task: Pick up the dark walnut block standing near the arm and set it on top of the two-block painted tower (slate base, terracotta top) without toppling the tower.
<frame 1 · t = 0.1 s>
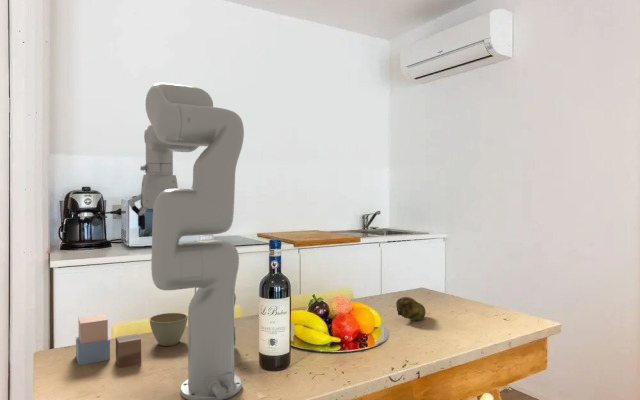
hand: (159, 228, 132), 31 cm above the table, fingers open, 9 cm apart
tower top: (93, 338, 113), point 5 cm above the table, touching tower base
tower base: (92, 358, 113), on the table, touching tower top
vegetable: (227, 349, 120), on the table
olive grey bowl: (168, 343, 124), on the table
walnut block: (128, 362, 110), on the table
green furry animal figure: (412, 320, 147), on the table
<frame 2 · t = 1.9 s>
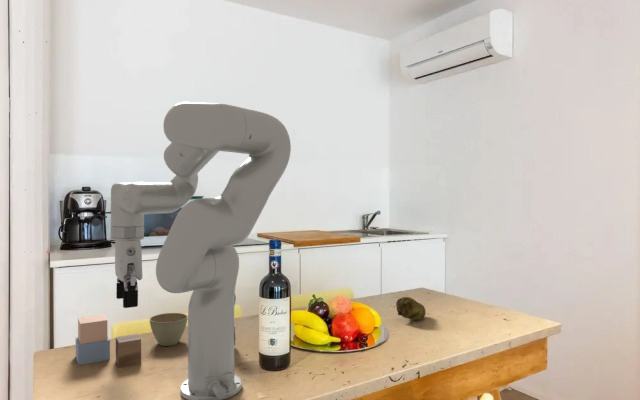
hand: (126, 302, 110), 15 cm above the table, fingers open, 9 cm apart
nothing on the table moved.
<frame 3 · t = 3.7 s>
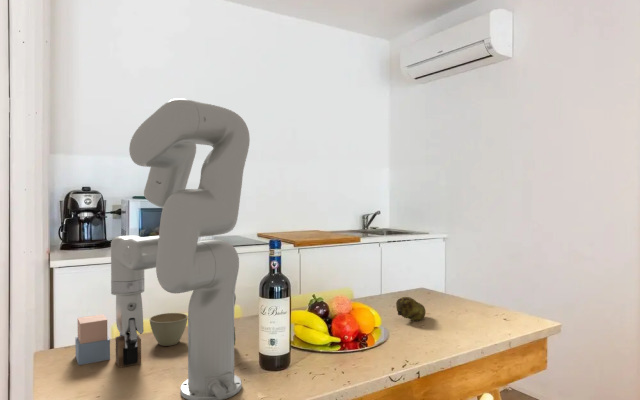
hand: (128, 359, 110), 1 cm above the table, fingers closed on walnut block, 5 cm apart
walnut block: (128, 362, 110), on the table, touching gripper
everything else where it was.
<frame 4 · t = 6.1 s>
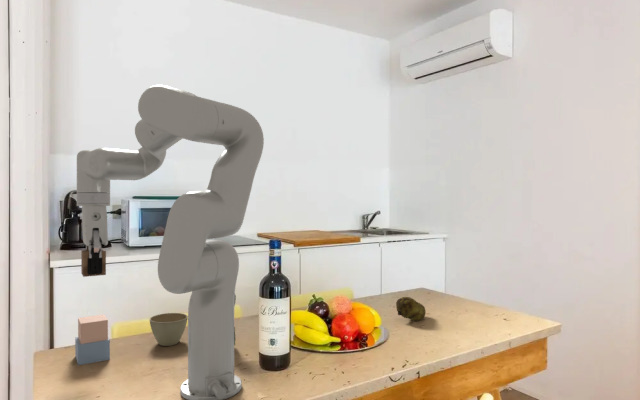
hand: (93, 271, 113), 22 cm above the table, fingers closed on walnut block, 5 cm apart
walnut block: (93, 274, 113), point 21 cm above the table, touching gripper
everything else where it was.
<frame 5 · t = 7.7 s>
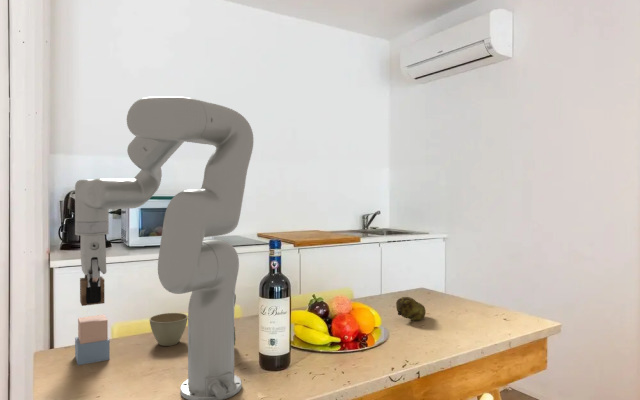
hand: (92, 299, 113), 15 cm above the table, fingers closed on walnut block, 5 cm apart
walnut block: (92, 302, 113), point 14 cm above the table, touching gripper
everything else where it was.
when the fingers open (11 cm above the table, at t = 8.9 s): walnut block stays where it is, resting on tower top.
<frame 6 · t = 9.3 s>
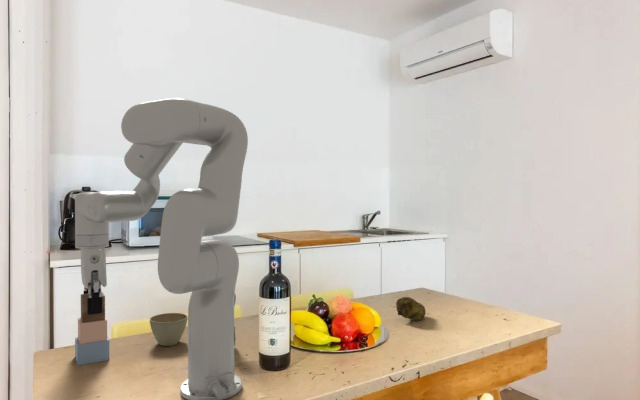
hand: (92, 309, 113), 12 cm above the table, fingers open, 9 cm apart
tower top: (92, 338, 113), point 5 cm above the table, touching tower base, walnut block
walnut block: (92, 318, 113), point 10 cm above the table, touching tower top
everything else where it was.
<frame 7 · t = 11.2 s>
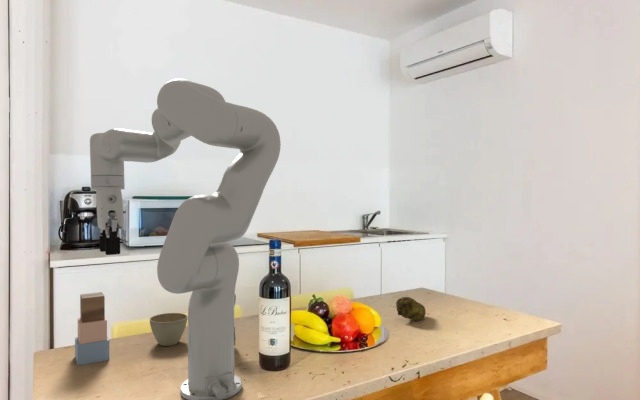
hand: (109, 252, 111), 27 cm above the table, fingers open, 9 cm apart
nothing on the table moved.
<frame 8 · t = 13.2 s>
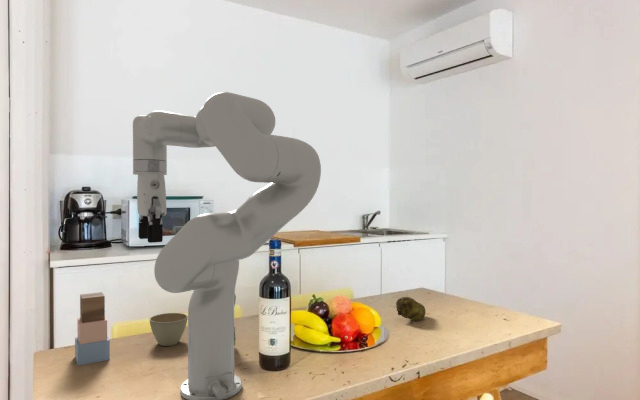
hand: (150, 240, 107), 30 cm above the table, fingers open, 9 cm apart
nothing on the table moved.
at the end: walnut block 0.2 cm off-centre on the tower top, point 5.0 cm above the tower top's base; tower top tilted 0°; walnut block tilted 0° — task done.
